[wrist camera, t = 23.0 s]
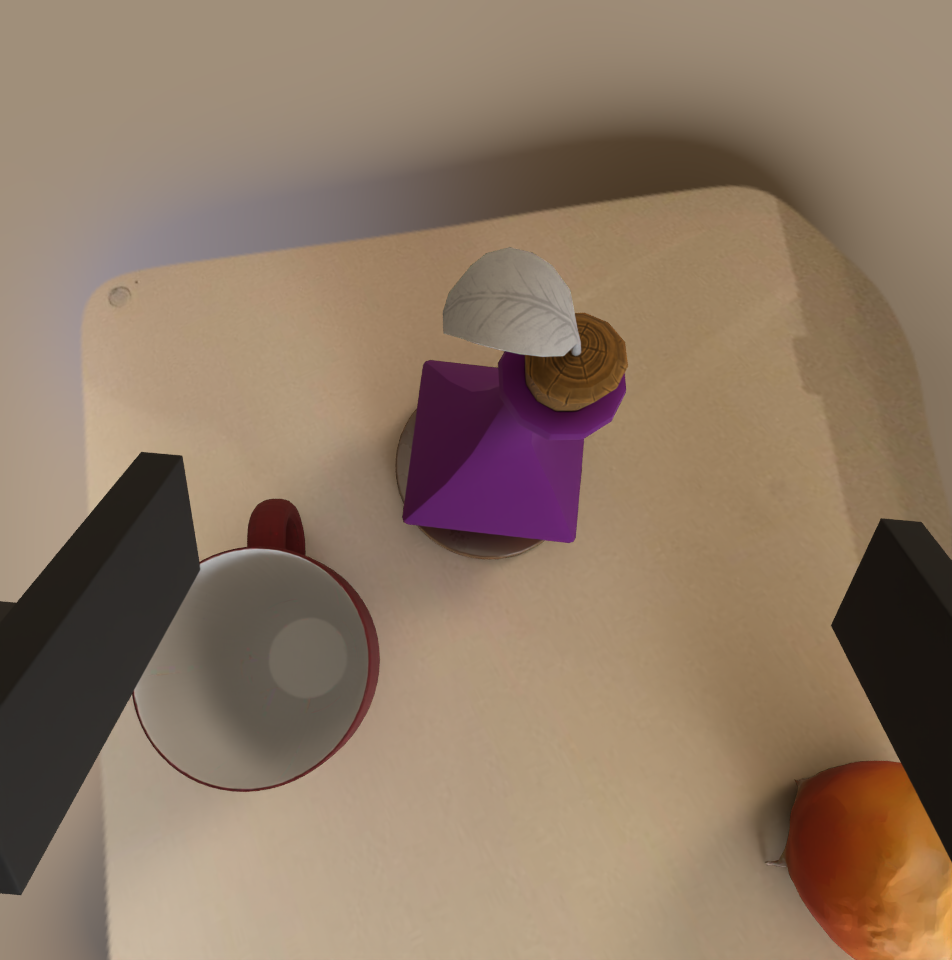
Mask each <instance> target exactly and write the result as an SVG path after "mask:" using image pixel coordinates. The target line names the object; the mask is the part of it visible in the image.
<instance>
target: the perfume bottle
mask: <svg viewBox="0 0 952 960" xmlns="http://www.w3.org/2000/svg"><path fill="white" fill-rule="evenodd" d="M443 331H444V334H447V335H451V336H454V337H458V338H462V339H465V340H467V341H470V342H473V343H476V344H479V345H483V346H487V347H490V348H494V349H497V350H502V351H505V352H504V354H503V355H502V357H501V359H500V361H499V362H498V368H495V367H486V366H477V365H469V364H460V363H451V362H443V361H434V360H429V361H426V362H425V363H424V365H423V369H422V376H421V384H420V391H419V398H418V406H417V413H416V420H415V428H414V435H413V442H412V450H411V457H410V464H409V472H408V479H407V486H406V494H405V501H404V508H403V516H402V518H403V522H405V523H406V524H410V525H419V526H427V527H436V528H445V529H453V530H462V531H470V532H479V533H488V534H496V535H505V536H513V537H522V538H531V539H539V540H548V541H556V542H565V543H570V542H573V541H574V540H575V538H576V527H577V515H578V504H579V492H580V480H581V469H582V457H583V445H584V438H586V437H587V436H589V435H590V434H592V433H593V432H595V431H597V430H598V429H600V428H601V427H603V426H605V425H606V424H608V423H609V422H611V421H612V419H613V417H614V415H615V413H616V411H617V409H618V407H619V405H620V403H621V401H622V399H623V397H624V395H625V393H626V383H625V371H626V369H627V367H628V362H627V354H626V347H625V342H624V340H623V339H622V338H621V337H620V336H619V335H618V333H617V332H616V331H615V330H614V329H613V327H612V326H611V325H610V324H609V323H608V322H606V321H603V320H601V319H598V318H596V317H594V316H591V315H589V314H586V313H574V307H573V302H572V297H571V291H570V289H569V288H568V286H567V285H566V284H565V282H564V281H563V279H562V278H561V277H560V275H559V274H558V273H557V271H556V270H555V268H554V267H553V266H552V265H551V264H549V263H548V262H546V261H545V260H543V259H542V258H540V257H539V256H537V255H536V254H534V253H532V252H528V251H524V250H520V249H515V248H511V247H509V248H505V249H501V250H497V251H493V252H489V253H486V254H485V255H483V256H482V257H481V258H480V259H478V260H477V261H476V262H475V263H474V264H472V265H471V266H470V267H469V268H468V270H467V271H466V272H465V273H464V275H463V276H462V277H461V278H460V280H459V281H458V282H457V283H456V285H455V286H454V287H453V288H452V289H451V291H450V292H449V294H448V297H447V300H446V304H445V307H444V310H443Z"/></svg>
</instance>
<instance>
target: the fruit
mask: <svg viewBox="0 0 952 960" xmlns="http://www.w3.org/2000/svg"><path fill="white" fill-rule="evenodd" d="M795 781H796V780H795ZM796 783H797V786H798V792H797V796H796V800H795V802H794V805H793V807H792V811H791V815H790V831H789V835H788V840H787V844H786V847H785V850H784V852H783V853H782V855H781V857H780V859H779V860H777V861H771V862H765V863H767V864H766V865H774V866H782V867H785V866H786V867H788V872H789V875H790V877H791V879H792V881H793V882H794V885H795V887H796V889H797V891H798V893H799V895H800V897H801V899H802V900H803V902H804V904H805V905H806V906H807V908H808V909H809V911H810V912H811V914H812V915H813V916H814V918H815V919H816V920H817V922H818V923H819V924H820V925H821V927H822V928H823V929H824V930H825V932H826V933H827V934H828V935H829V937H830V938H831V939H832V940H833V941H834V942H835V943H836V944H837V945H838V946H839V947H840V948H841V949H843V950H844V951H845V952H846V953H847V954H849V955H850V956H851V957H853V958H854V959H855V960H952V862H951V860H950V858H949V856H948V854H947V852H946V850H945V848H944V846H943V844H942V842H941V840H940V838H939V836H938V834H937V832H936V831H935V829H934V827H933V825H932V823H931V821H930V819H929V817H928V815H927V813H926V811H925V809H924V807H923V805H922V803H921V801H920V799H919V797H918V795H917V793H916V791H915V789H914V787H913V785H912V783H911V781H910V780H909V778H908V776H907V774H906V772H905V770H904V768H903V766H902V764H901V763H897V762H890V761H860V762H854V763H849V764H846V765H842V766H838V767H834V768H830V769H827V770H825V771H822V772H819V773H818V774H816V775H815V776H813V777H811V778H807V779H801V780H799V781H796Z"/></svg>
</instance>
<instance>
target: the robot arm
mask: <svg viewBox="0 0 952 960" xmlns="http://www.w3.org/2000/svg"><path fill="white" fill-rule="evenodd" d="M200 570H201V569H200V563H199V557H198V551H197V544H196V538H195V532H194V526H193V519H192V513H191V507H190V501H189V494H188V488H187V482H186V476H185V469H184V463H183V457H182V456H180V455H169V454H158V453H147V452H141V453H140V454H139V455H138V457H137V458H136V459H135V460H134V461H133V463H132V464H131V465H130V466H129V467H128V469H127V470H126V471H125V472H124V473H123V475H122V476H121V477H120V478H119V479H118V481H117V482H116V483H115V484H114V486H113V487H112V488H111V489H110V490H109V492H108V493H107V494H106V495H105V496H104V498H103V499H102V500H101V501H100V502H99V504H98V505H97V506H96V507H95V508H94V510H93V511H92V512H91V513H90V515H89V516H88V517H87V518H86V519H85V521H84V522H83V523H82V524H81V525H80V527H79V528H78V529H77V530H76V531H75V533H74V534H73V535H72V536H71V538H70V539H69V540H68V541H67V542H66V544H65V545H64V546H63V547H62V548H61V550H60V551H59V552H58V553H57V554H56V556H55V557H54V558H53V559H52V561H51V562H50V563H49V564H48V565H47V567H46V568H45V569H44V570H43V571H42V573H41V574H40V575H39V576H38V577H37V579H36V580H35V581H34V582H33V583H32V585H31V586H30V587H29V588H28V589H27V591H26V592H25V593H24V594H23V595H22V597H21V598H20V599H19V600H18V602H17V603H13V602H1V601H0V893H2V894H14V895H21V894H22V892H23V891H24V889H25V887H26V885H27V883H28V882H29V880H30V878H31V876H32V874H33V873H34V871H35V869H36V867H37V865H38V863H39V862H40V860H41V858H42V856H43V854H44V853H45V851H46V849H47V847H48V845H49V843H50V841H51V840H52V838H53V836H54V834H55V833H56V831H57V829H58V827H59V825H60V823H61V822H62V820H63V818H64V816H65V814H66V813H67V811H68V809H69V807H70V805H71V804H72V802H73V800H74V798H75V796H76V794H77V793H78V791H79V789H80V787H81V785H82V784H83V782H84V780H85V778H86V776H87V774H88V773H89V771H90V769H91V767H92V766H93V764H94V762H95V760H96V758H97V756H98V755H99V753H100V751H101V749H102V747H103V746H104V744H105V742H106V740H107V738H108V737H109V735H110V733H111V731H112V729H113V727H114V726H115V724H116V722H117V720H118V718H119V717H120V715H121V713H122V711H123V709H124V708H125V706H126V704H127V702H128V700H129V698H130V697H131V695H132V693H133V691H134V689H135V688H136V686H137V684H138V682H139V680H140V678H141V677H142V675H143V673H144V671H145V669H146V668H147V666H148V664H149V662H150V660H151V659H152V657H153V655H154V653H155V651H156V649H157V648H158V646H159V644H160V642H161V640H162V639H163V637H164V635H165V633H166V631H167V630H168V628H169V626H170V624H171V622H172V620H173V619H174V617H175V615H176V613H177V611H178V610H179V608H180V606H181V604H182V602H183V601H184V599H185V597H186V595H187V593H188V591H189V590H190V588H191V586H192V584H193V582H194V581H195V579H196V577H197V575H198V573H199V571H200ZM831 626H832V628H833V630H834V632H835V634H836V636H837V638H838V640H839V642H840V644H841V646H842V648H843V650H844V652H845V654H846V656H847V658H848V660H849V662H850V664H851V666H852V668H853V670H854V672H855V674H856V676H857V678H858V679H859V681H860V683H861V685H862V687H863V689H864V691H865V693H866V695H867V697H868V699H869V701H870V703H871V705H872V707H873V709H874V711H875V713H876V715H877V717H878V719H879V721H880V723H881V725H882V727H883V729H884V730H885V732H886V734H887V736H888V738H889V740H890V742H891V744H892V746H893V748H894V750H895V752H896V754H897V756H898V758H899V760H900V762H901V764H902V766H903V768H904V770H905V772H906V774H907V776H908V778H909V780H910V781H911V783H912V785H913V787H914V789H915V791H916V793H917V795H918V797H919V799H920V801H921V803H922V805H923V807H924V809H925V811H926V813H927V815H928V817H929V819H930V821H931V823H932V825H933V827H934V829H935V831H936V832H937V834H938V836H939V838H940V840H941V842H942V844H943V846H944V848H945V850H946V852H947V854H948V856H949V858H950V860H951V862H952V560H951V559H950V558H949V557H948V555H947V554H946V553H945V551H944V550H943V549H942V548H941V546H940V545H939V544H938V543H937V541H936V540H935V539H934V537H933V536H932V535H931V534H930V532H929V531H928V530H927V529H926V527H925V526H924V525H923V523H922V522H915V521H904V520H893V519H882V518H881V519H880V522H879V524H878V526H877V528H876V530H875V532H874V534H873V537H872V539H871V541H870V543H869V545H868V547H867V549H866V552H865V554H864V556H863V558H862V560H861V562H860V564H859V567H858V569H857V571H856V573H855V575H854V577H853V579H852V582H851V584H850V586H849V588H848V590H847V592H846V594H845V597H844V599H843V601H842V603H841V605H840V607H839V609H838V612H837V614H836V616H835V618H834V620H833V622H832V624H831Z"/></svg>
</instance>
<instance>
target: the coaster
mask: <svg viewBox="0 0 952 960" xmlns="http://www.w3.org/2000/svg"><path fill="white" fill-rule="evenodd" d="M416 413H417V409H416V410H415V411H414V413H413V414H412V415H411V417H410V418H409V420H408V422H407V423H406V425H405V427H404V430H403V432H402V434H401V437H400V440H399V444H398V447H397V454H396V478H397V484H398V488H399V492H400V495H401V498H402V500H403V502H404V501H405V494H406V486H407V479H408V472H409V464H410V457H411V450H412V442H413V435H414V428H415V420H416ZM581 473H582V469H581ZM580 482H581V480H580ZM417 526H418V527H419V528H420V529H421V530H422V531H423V532H424V533H425V534H426V535H427V536H428V537H429V538H430V539H432V540H433V541H434V542H436V543H437V544H438V545H440V546H442V547H444V548H446V549H447V550H449V551H452V552H454V553H457V554H459V555H463V556H467V557H471V558H478V559H500V558H507V557H511V556H514V555H518V554H521V553H523V552H526V551H528V550H530V549H532V548H534V547H535V546H537V545H539V544H540V543H542V542H543V541H544V540H539V539H531V538H522V537H513V536H505V535H496V534H488V533H479V532H470V531H462V530H453V529H445V528H436V527H427V526H419V525H417Z"/></svg>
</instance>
